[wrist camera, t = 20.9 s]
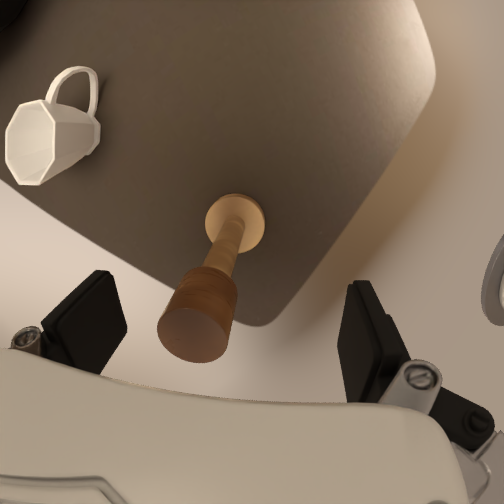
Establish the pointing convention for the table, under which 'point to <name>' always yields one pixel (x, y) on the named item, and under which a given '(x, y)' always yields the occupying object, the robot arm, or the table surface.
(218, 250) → the brown long flanged bar
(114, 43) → the table surface
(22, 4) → the table lamp
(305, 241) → the table surface
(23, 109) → the cup
